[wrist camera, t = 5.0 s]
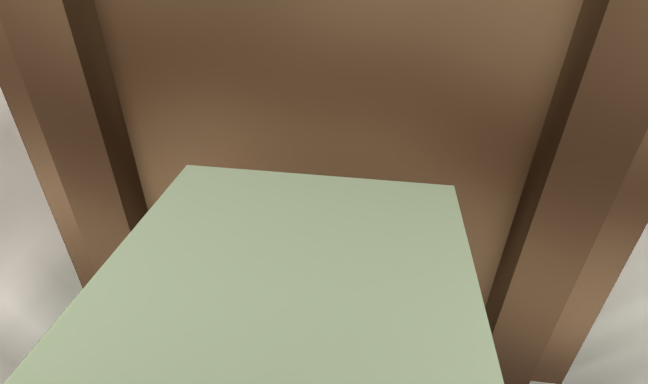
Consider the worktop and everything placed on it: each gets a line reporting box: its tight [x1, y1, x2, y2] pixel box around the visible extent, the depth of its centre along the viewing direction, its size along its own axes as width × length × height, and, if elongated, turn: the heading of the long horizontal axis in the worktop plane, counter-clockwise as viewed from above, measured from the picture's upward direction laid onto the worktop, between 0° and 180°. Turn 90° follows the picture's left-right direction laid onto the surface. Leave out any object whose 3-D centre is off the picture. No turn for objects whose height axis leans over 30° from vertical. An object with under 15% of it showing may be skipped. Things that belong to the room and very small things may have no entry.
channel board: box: [0, 0, 648, 384], centre depth 7 cm, size 14×13×4 cm
